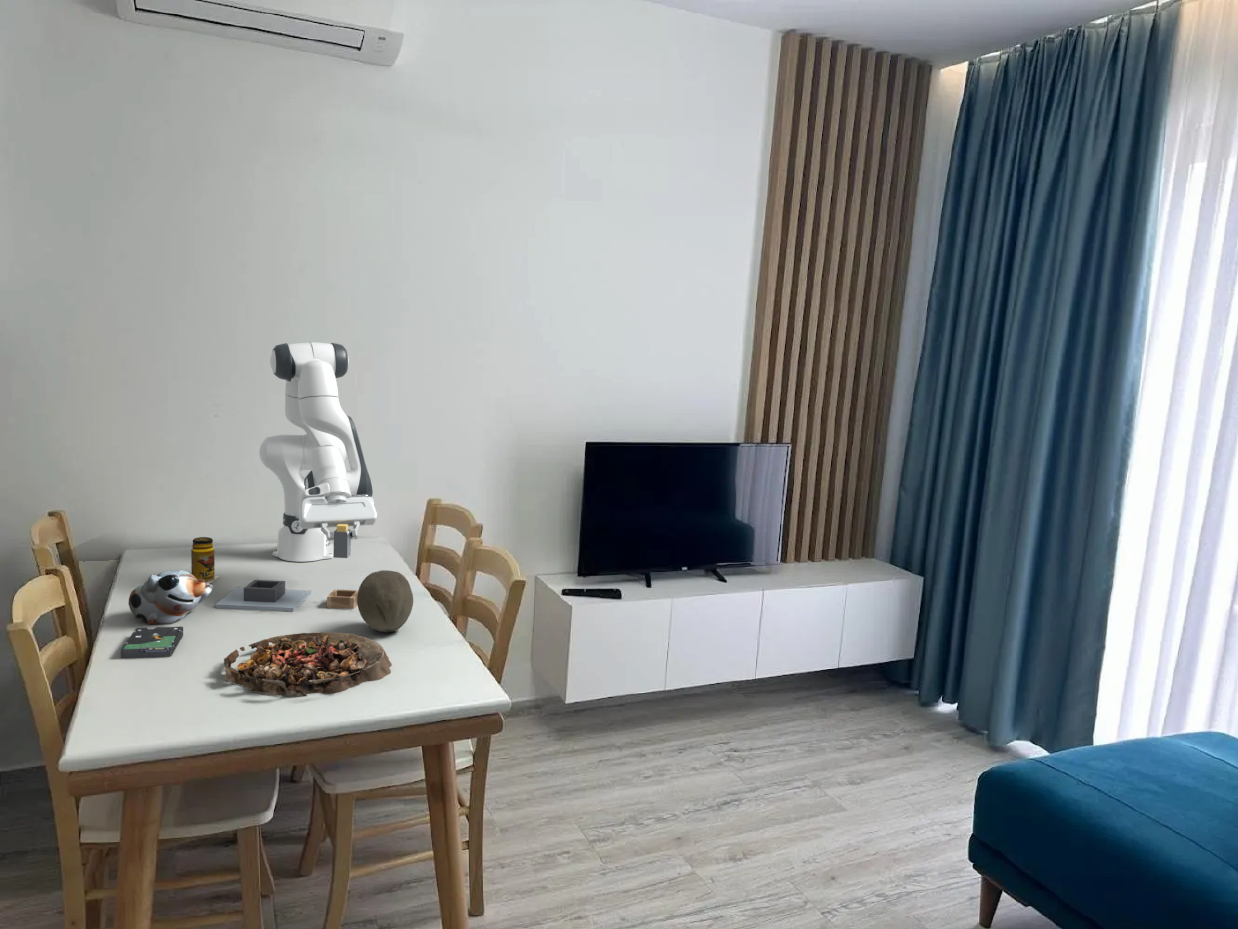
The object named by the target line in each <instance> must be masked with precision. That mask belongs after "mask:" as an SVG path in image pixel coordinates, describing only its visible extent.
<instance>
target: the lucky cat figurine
mask: <svg viewBox="0 0 1238 929" xmlns="http://www.w3.org/2000/svg"><path fill="white" fill-rule="evenodd" d="M213 589H214V586H213V583H212V584H211V583H206V582H205V580H203V579H198V580H197V579H196V578H195V577H194V576H193V575H192V574H191V573H190V572H189V571H185V570H181V569H179V570H171V569H170V570H166V571H163V572H160V573H158V574H157V575H155V574H153V573H152V574H150V576H149V577H148V579H147V580H146V581H145V582H144V583H143V584H142V585H139V586H137V587H136V588H134V589H133V590H132V591H131V592H130V594H129V598H128V602H127V603H128V608H129V609H130V612H131V613H132V615H133V617H134V618H135V619H138V620H139V619H141V620H143V622H144V623H145V624H147V625H167V624H169V625H170V624H173V623H175V622H176V621H178V620H179V619H183V618H184V617H185V616H186V615H187V614H189V613H191V612H193V611H194V610H196V609H197V606H198V605H199V604H200V603H202V602H203V601H204V600H205V599H207V597H209V595H210V594H211V592H213Z"/></svg>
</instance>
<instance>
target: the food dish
mask: <svg viewBox="0 0 1238 929" xmlns="http://www.w3.org/2000/svg"><path fill="white" fill-rule="evenodd" d="M270 643H271V644H270ZM248 647H249V648H251V650H253V649H256V650H255V652H254V653H252V654H251V657H250V658H248V659H247V660H246V661H245V662H239V663H238V665H237V666H236V667H237V669H235V668H233V667H232V664H234V663H236V661H237V659H238V658H239V656H240V651H241V652H245V650H246V649H245V647H244V646H241V647H239V650H240V651H238V649H235V650H234V651H233V652H230V653H229V654H228V655H227V656H226V657H225V658H224V659H223V666H224V670H225V680H226V681H228V682H230V683H233V684H234V685H237V686H242V687H243V688H246V689H248V690H246V692H247V693H251V692H254V693H258V694H263V695H266V696H270V697H275V696H282V697H285V698H296V697H297V698H300V697H304V696H306V697H308V695H311V694H326V695H330V694H331V695H332V694H333V695H334V694H338V693H342V692H345V691H347V690H348V689H352V688H355V687H357V686H360V685H361V684H363V683H366V682H374V681H379V680H383V679H384V678H385V677H386V676H389V675H390V674H391V673H392V671H391V669H390V668H391V667H392V666H393V665H392V662H391V661H390V659H389V656H388V655H387V653H386V651H385V649H384V647H383V646H382V644H380V643H379V642H377V641H375V640H373V639H370V638H368V637H365V636H360V635H357V634H355V633H348V632H327V631H326V632H324V631H320V632H314V631H313V632H300V633H292V634H284V635H275V636H273V637H269V638H264V639H261V640H259V641H257V642H253V643H250V644H248Z"/></svg>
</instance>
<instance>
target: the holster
mask: <svg viewBox="0 0 1238 929" xmlns="http://www.w3.org/2000/svg"><path fill="white" fill-rule="evenodd" d="M358 590H359V589H358ZM358 590H357V589H356V590H353V589H336V588H334V589H333V590H332V591H331V592H330V593H329V594H328V596H326V608H327V609H346V610H354V609H355V608H356V607H358V605H357V595H358Z"/></svg>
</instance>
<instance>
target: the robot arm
mask: <svg viewBox="0 0 1238 929" xmlns="http://www.w3.org/2000/svg"><path fill="white" fill-rule="evenodd" d="M269 363H270V368H271V370H272V372H273V375H275V377H277V378H278V379H281V380H284V381H285V388H284V391H285V392H284V393H285V394H284V403H285V404H284V415H285V417H286V420H288V422H289V423H291V424H292V425H294V426H296V427H299V428H301V429H302V430H303V431H304V432H305V433H306V434H277V435H271V436H267V437H265V438H264V440H263V441H262V442H261V444H260V446H259V450H258V451H259V452H258V453H259V454H258V455H259V457H260V461H261V462H262V464H263V465H264V466H265V467H266V468H267V469H269V470H270V471H271V472H272V473H274V474H275V476H276V477H277V478H278V480H279V482H280V484H281V486H282V489H283V496H284V498H283V499H284V512H283V513H282V514H283V515H282V525H283V526H282V527H281V528H279V530H278V531H277V532H278V536H277V550H274V551H273V552H272V557H276V558H279V559H281V560H283V561H288V562H296V563H297V562H299V563H300V562H302V563H303V562H305V563H306V562H314V561H320V560H327V559H333V552H334V543H330V541H334V531H330V530H329V529H328V528H337V525H338V524H348V527H352V529H353V530H351V540H357V539H358V537H359V535H358V534H359V533H358V531H359V528H360V527H361V526H362V527H363V526H373V525H374V524H375V523H376V522H377V519H378V512H377V509H376V507H375V500H374V498H373V492H374V488H373V487H374V486H373V482H372V479H371V476H370V474H369V471H368V467H367V464H366V461H365V456H364V452H363V450H362V449H363V448H362V445H361V442H360V438H359V435H358V431H357V427H356V425H355V422H354V421H353V418H352V417H351V416H349V415H348V414H346V412H344V410H343V408H342V406H341V403H340V397H339V388H338V382H337V379H339V378H343V377H344V376H345V375H346V374H347V373H348V370H349V366H350V357H349V354H348V351H347V349H346V347H345V346H344V345H343V344H339V343H336V342H331V343H327V342H316V341H310V342H309V341H308V342H298V343H297V342H296V343H295V342H294V343H280V344H276V345H275V346H274V348H272V351H271V354H270V359H269ZM346 458H347V459H348V463H349V468H350V470H349V471H347V469H346V468H347V467H346V464H345V461H346ZM302 471H308V473H307V475H306V476H305V477H304V476H303V475H302V474H301V472H302Z"/></svg>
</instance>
